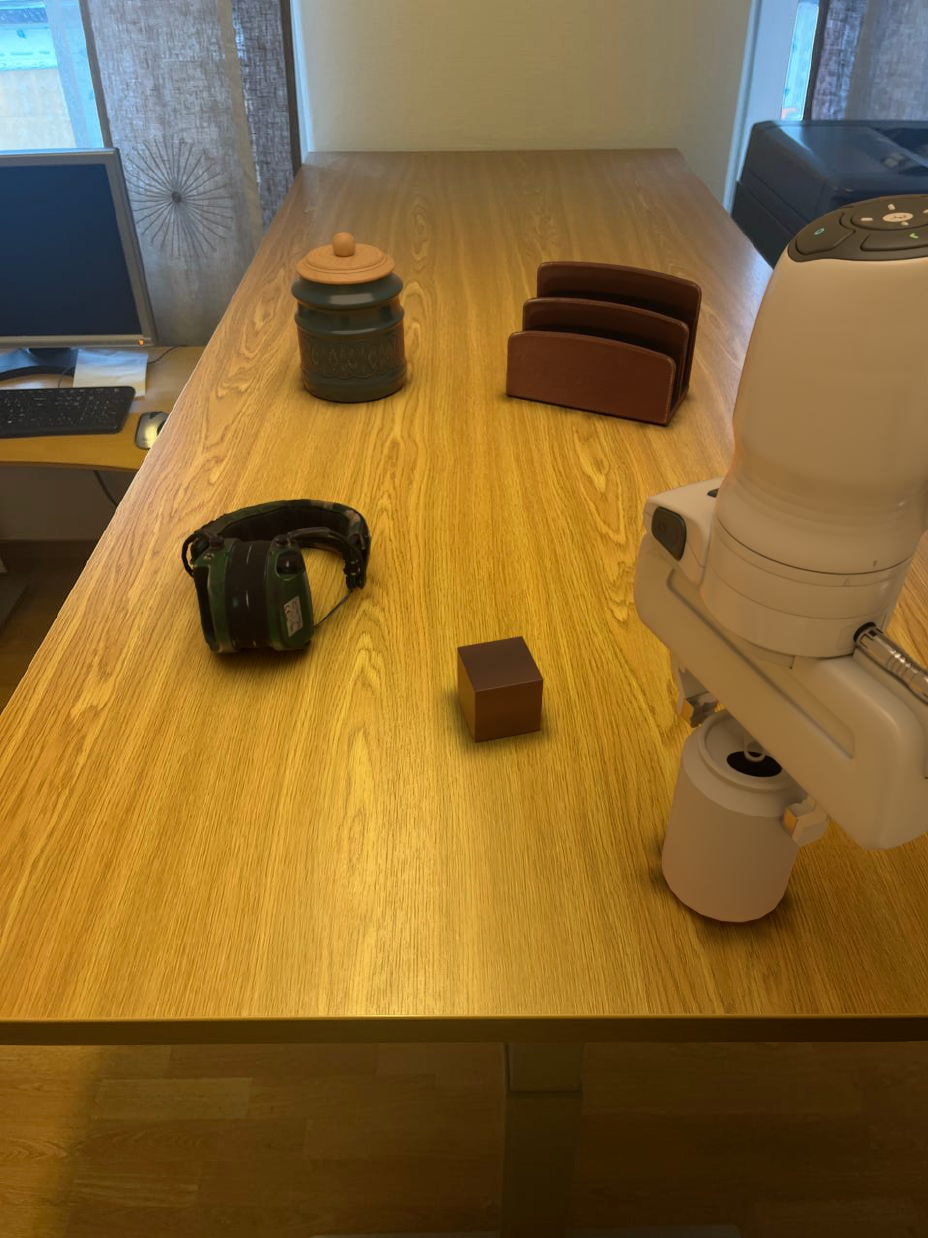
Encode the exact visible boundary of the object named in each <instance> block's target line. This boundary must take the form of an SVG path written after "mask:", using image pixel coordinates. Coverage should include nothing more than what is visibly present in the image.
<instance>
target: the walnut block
mask: <svg viewBox="0 0 928 1238" xmlns="http://www.w3.org/2000/svg"><path fill="white" fill-rule="evenodd" d="M456 657H457V658H456V664H457V665H456V667H457V669H456V671H457V672H456V673H457V675H456V677H457V678H456V679H457V699H458V702H459V704H460V708H461V709H462V712H463V714H464V715H463V716H464V718H465V720H466V723H467V726H468V728H469V731H470V734H471V737H472V739H473V741H474V743H479V742H480V743H481V742H485V741H490V740H495V739H502V738H506V737H512V736H515V735H516V736H517V735H521V734H528V733H532V732H537V731H541V727H542V725H541V724H542V710H543V694H544V680H545V679H544V677H543V675H542V673H541V671H540V669H539V666H538V665H537V663H536V661H535V659H534V657H533V655H532V653H531V650H530V648H529V647H528V644H527V642H526V641H525V639H524V636H522V635H520V636H513V637H508V638H502V639H495V640H489V641H484V642H479V643H472V644H467V645H462V646H457V648H456Z"/></svg>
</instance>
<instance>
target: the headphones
mask: <svg viewBox="0 0 928 1238" xmlns="http://www.w3.org/2000/svg"><path fill="white" fill-rule="evenodd" d="M372 539H373V538H372V535H371V532H370V529H369V525H368V522H367V520H366V518H365V517H364V515H363V514H362V513H361V512H360V511H358V510H357V509H356V508H354V507H352V506H349V505H347V504H343V503H340V502H335V501H325V500H321V499H311V498H297V499H287V500H286V499H281V500H280V499H279V500H273V501H267V502H263V503H258V504H253V505H249V506H245V507H242V508H239V509H237V510H234V511H231V512H228V513H225V512H224V513H223V514H222V515H220V516H219V517H217V518H216V519H215V520H214V519H212V520H209V522H207V523H206V524H203V525H202V526H201V527H200V528H198V529H196V530H193V533H191V534H190V535H189V536H187V538H186V539H185V540H184V541H183V544H182V545H181V554H180V555H181V556H180V558H181V561H182V565H183V567H184V568H183V569H184V571H186V573H187V574H188V575H189V577H190V578H191V579H193V582H194V586H195V591H196V596H197V603H198V609H199V610H198V611H199V617H200V625H201V626H200V627H201V631H202V634H203V638H204V641H205V644H207V645H208V647H209V649H210V651H211V652H213V653H215V654H217V655H218V654H231V653H236V652H237V653H238V652H239V651H241V650H242V649H244V648H248V649H259V648H267V647H271V648H272V649H274V650H275V651H294V650H295V651H296V650H305V649H308V647H309V646H310V645H311V644H312V639H313V636H314V634H315V628H317V627H318V626H320V625H322V624H323V623H324V622H325V621H327V620H328V619H329V618H331V617H332V616H333V615H334V614H335V613H336V612H337V611H338V610H339V609H340V608H341V607H342V606H343V605H344V604H345V603H346V601H348V599H349V597H350V595H351V594H352V593H353V592H354V590H355V589H356V588H358V589H360V590H363V589H364V588H365V586H366V584H367V571H368V566H369V562H370V558H371V549H372ZM189 546H190V547H189ZM300 546H301V547H313V548H317V549H318V548H319V549H323V550H326V551H331V552H334V553H338V554H341V555H342V560H343V561H344V567H343V568H342V572H343V574H344V575H345V585H346V588H347V589H348V591H347V593H346V594H345V596H343V597H342V599H340V601H339V602H338V603H337V604H336V605H335V606H334V607H333V608H332V609H331V610H330V611H329V612H328V613H327V614H326V616H325V617H323V618H322V619H321V620H320V621H319V622H317V623H316V624H315V618H314V607H313V606H314V605H313V596H312V590H311V585H310V581H309V576H308V571H307V567H306V562H305V557H304V555H303V552H302V551H301V548H300ZM188 550H189V552H190V559H189V560H188V558H187V557H188V556H187V555H188ZM190 565H192V567H191V566H190Z"/></svg>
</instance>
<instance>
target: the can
mask: <svg viewBox="0 0 928 1238" xmlns="http://www.w3.org/2000/svg"><path fill="white" fill-rule="evenodd" d="M807 797H808V793H807V792H806V791H805V790H804V789H803V788H802V787H801V786H800V785H799V784H798V783H797V782H796V781H795V780H794V779H793V778H792V777H791V776H790V775H789V774H788V773H787V772H786V771H785V769H784V768H783V767H782V766H781V765H780V764H779V763H778V762H777V761H776V760H775V759H774V758H773V757H772V756H771V755H770V754H769V753H768V752H767V751H766V750H765V749H764V748H763V747H762V746H761V745H760V744H759V743H758V742H757V741H756V739H755V738H754V737H753V736H752V735H751V734H750V733H749V732H748V731H747V730H746V729H745V728H744V727H743V726H742V725H741V724H740V723H739V722H738V721H737V720H736V719H735V718H734V717H733V716H732V715H731V714H730V713H729V712H728V711H727V710H726V709H725V708H721V709H720V710H717V711H715V713H714V714H712V715H709V717H708V718H707V719H706V720H705V721H704V722H703V723H702V724H699V726H698V727H696V728H694V730H693V731H692V732H691V733H690V734H689V735H688V736H687V738H685V742H684V745H683V749H682V751H681V756H680V761H679V765H678V771H677V776H676V781H675V787H674V791H673V796H672V800H671V801H672V802H671V806H670V812H669V818H668V821H667V825H666V826H667V827H666V831H665V837H664V841H663V847H662V852H661V857H660V859H661V869H662V870H661V871H662V875H663V877H664V879H665V880H666V883H667V885H668V887H669V889H670V890H671V892H673V893H674V895H675V896H676V897H677V898H678V899H679V900H680V901H681V902H682V904H684V905H685V906H687V907H689V908H690V909H692V910H693V911H695V912H697V913H698V914H700V915H702V916H705V917H708V918H711V919H714V920H718V921H719V922H733V923H744V922H748V921H752V920H757V919H761V918H763V917H764V916H765V915H767V914H769V913H770V912H772V911H774V910H776V909H775V908H776V907H777V906H778V904H779V903H780V902H781V900H782V899H783V897H784V895H785V893H786V890H787V886H788V883H789V881H790V877H791V874H792V871H793V868H794V865H795V863H796V859H797V856H798V853H799V851H800V846H798V845H797V844H796V843H795V842H794V841H793V840H792V839H791V838H790V836H789V835H788V834H787V833H786V832H785V831H784V829H783V828H782V827H781V826H780V822H781V820H784V819H783V813H784V810H785V807H786V806H789V805H791V804H794V803H801V802H802V800H804V799H806V798H807Z"/></svg>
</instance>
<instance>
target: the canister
mask: <svg viewBox="0 0 928 1238" xmlns="http://www.w3.org/2000/svg"><path fill="white" fill-rule="evenodd" d="M395 268H396V262H395V260H394V259H393V257H391V256H390V255H388V254H386V253H384V252H383V251H382V250H381V249H380V248H379V247H376V246H374V245H369V244H365V243H358V242H357V243H356V240H355V238H354V237H353V235H352V234H351V233H349V232H343V231H342V232H339V233H336V234H335V235H334V237H333V239H332V243H331V244H325V245H322V246H318V247H316V248H314V249H311V250H310V251H309V252H308V253H307V255H306V256H304V257H303V258H301V259H300V260H299V261H298V262H297V263H296V265H295V271H296V273H297V274H298V278H296V279H295V280H294V281H293V282H292V284H291V286H290V292H291V295H292V296H293V297H294V299H296V308H297V309H296V311H295V313H294V317H293V318H294V322H295V324H296V331H297V332H296V333H297V340H298V348H299V357H300V363H299V370H300V376H301V379H302V380H303V385H304V388H305V389H306V390H307V391H308V392H309V393H310V394H312V395H314V396H316V397H318V398H320V399H324V400H327V401H333V402H339V403H341V402H342V403H359V402H368V401H372V400H373V401H374V400H377V399H381V398H385V397H387V396H389V395H392V394H393V393H395V392H397V391H398V390H399V389H401V388H402V387H403V385H404V384H405V382H406V376H407V375H406V374H407V372H408V365H407V364H408V359H407V357H406V347H405V346H406V344H405V343H406V342H405V325H404V324H405V323H404V318H405V309H404V307H403V306H402V304H401V300H400V294H401V293H402V292H403V289H404V281H403V279H401V277H400V276H399V275H397V274H396V273H394V270H395Z"/></svg>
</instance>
